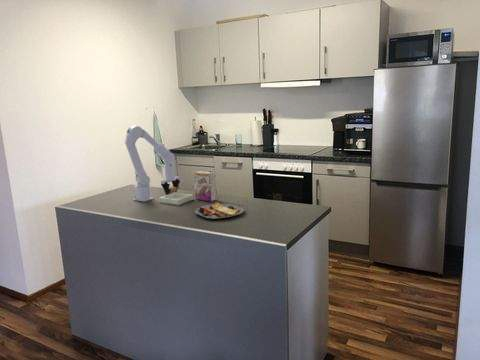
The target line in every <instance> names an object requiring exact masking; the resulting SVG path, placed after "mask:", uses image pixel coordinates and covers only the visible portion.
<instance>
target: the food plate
mask: <svg viewBox="0 0 480 360" xmlns="http://www.w3.org/2000/svg"><path fill="white" fill-rule="evenodd" d="M244 211H245V210H244V208H243V207H241V205H237V204H232V203H231V204H230V203H219V201H216V202H214V203H210V204H206V205H202V206H201V205H200V206H198V207H197V208H196V209H194V214H196V215H199V216H201V217H202V218H206V219H212V220H213V219H225V218H231V217H234V216H237V215H241V214H242V213H243V212H244Z"/></svg>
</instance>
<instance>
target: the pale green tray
mask: <svg viewBox="0 0 480 360" xmlns="http://www.w3.org/2000/svg"><path fill="white" fill-rule="evenodd" d="M193 200H194V194H191V193H189V194H188V193H183V192H178V191H177V192H175V193H171V194H168V195H166V194H165V195H162V196H160V197H158V202H159V204H165V205H172V206H180V205H182V204H185V203H188V202H191V201H193Z"/></svg>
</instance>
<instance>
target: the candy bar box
mask: <svg viewBox="0 0 480 360" xmlns="http://www.w3.org/2000/svg"><path fill="white" fill-rule="evenodd" d="M215 175H216V174H215V172H210V171H200V170H199V171H195V172H194V180H195V181H194V183H195V184H194V186H195V185H196V197H195V198H196V199H195V200H198V201H206V202H213V201H216V196H217V195H216V179H215V177H216V176H215Z"/></svg>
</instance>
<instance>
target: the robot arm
mask: <svg viewBox="0 0 480 360" xmlns="http://www.w3.org/2000/svg"><path fill="white" fill-rule="evenodd" d="M125 136H126V137H125V141H124V144H125V146H126V149H127V151H128V154H129V157H130V160H131V163H132V166H133V169H134V173H135V181H136V183H137V184H135V185H134V187H133V199H132V200H133V201H138V202H149V201H150V200H153V199H154V197H151V189H150V188H151V187H150V186H151V185H150V184H151V183H150V182H151V177H150V176H149V175H148V174H147V172H146V170H145V169H144V168H145V167H144V166H143V165H144V164H143V163H142V161H141V157H140V154H139V152H138V148H137V146H136V143H137V141H138V140H139V139H140V138H142V139H145V141H146V142H147V143H149V144H150V145H151V146H152V147H153V149H154V152H156V153H157V154H158V155H159V156H160V157H161V158H162V159H163V160H164V175H165V178H163V179H162V180H161V181H160V185H161V188H163V191H164V193H165V195H168V194H169V187H170V185H171V184H170V182H171V183H172V187H177V190H178V188H179V185H180V183H181V181H180V180H181V179H180V176H177V175H175V174H176V172H175V159H176V157H175V155H174V153H173V152H171V150H170V149H169V148H167V147H165V144H164V143H161V142H158V141H157V140H155V139H154V137H152V136H151V135H150V134H149V133H148V132H147V131H146V130H145V129H143V128H142V127H141V126H139V125H130V126H129V127H128V129H127V130H126V135H125Z"/></svg>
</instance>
